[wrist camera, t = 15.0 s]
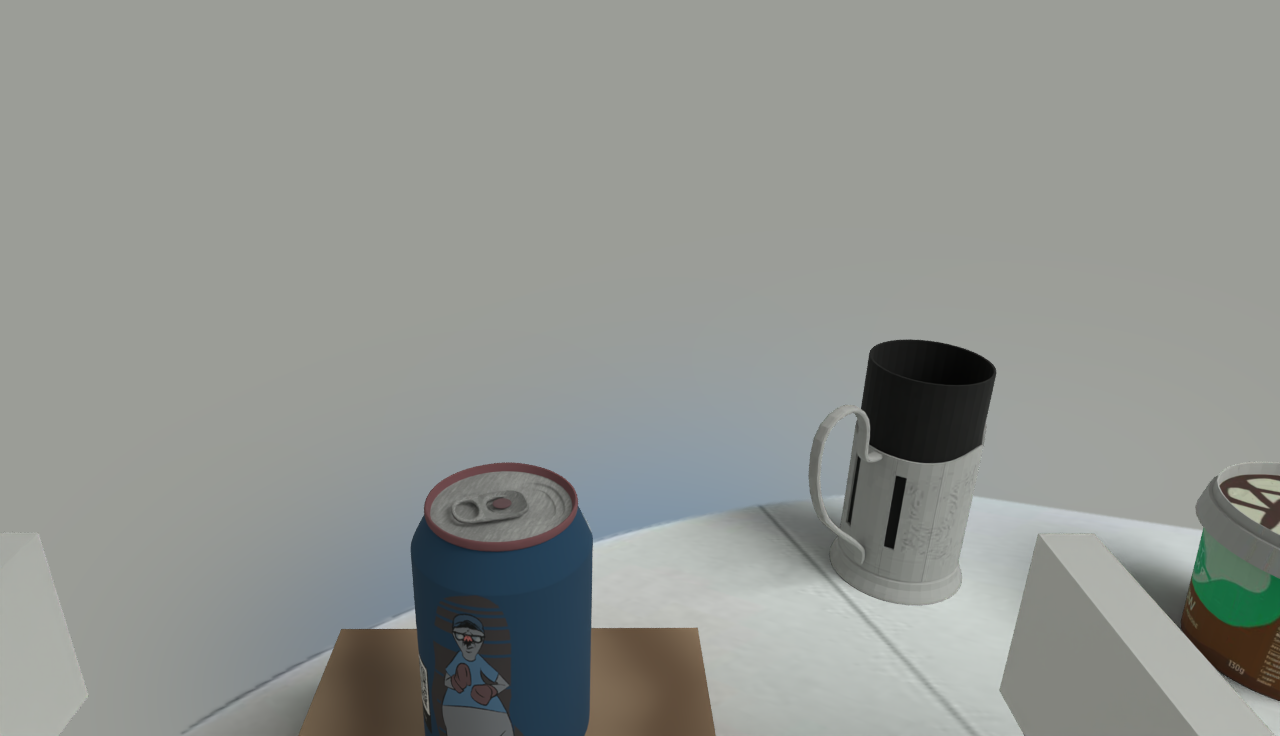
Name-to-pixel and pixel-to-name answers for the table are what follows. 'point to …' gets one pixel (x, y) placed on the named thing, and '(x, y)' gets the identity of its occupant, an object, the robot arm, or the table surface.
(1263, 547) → the food container
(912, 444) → the glass holder
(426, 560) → the soda can
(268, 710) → the table surface
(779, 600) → the table surface
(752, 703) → the table surface
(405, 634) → the block
